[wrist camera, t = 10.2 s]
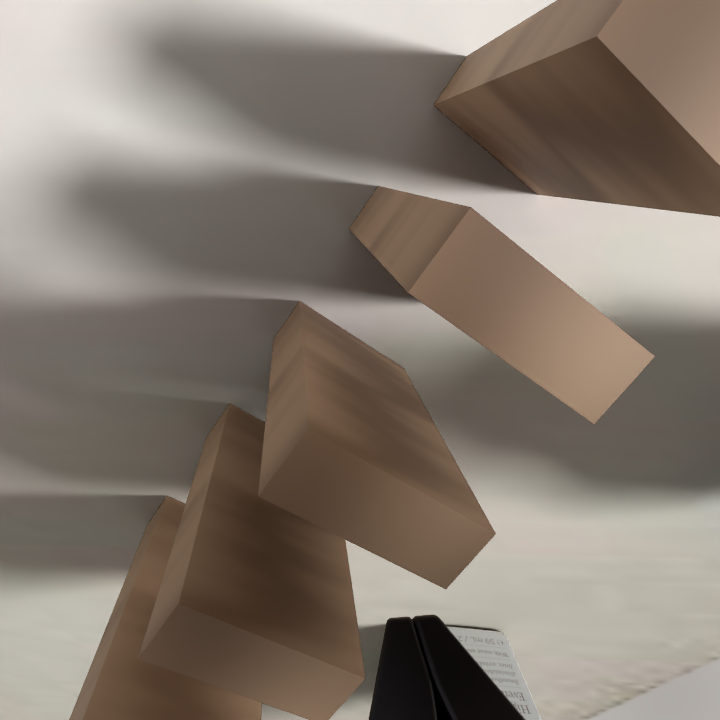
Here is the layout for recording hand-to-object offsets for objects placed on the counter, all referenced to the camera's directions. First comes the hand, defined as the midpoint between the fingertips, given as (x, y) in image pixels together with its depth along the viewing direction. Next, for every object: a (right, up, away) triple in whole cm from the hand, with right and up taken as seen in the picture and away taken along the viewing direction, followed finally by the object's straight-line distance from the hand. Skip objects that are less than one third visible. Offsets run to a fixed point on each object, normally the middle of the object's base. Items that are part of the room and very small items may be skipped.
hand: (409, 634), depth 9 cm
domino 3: (-2, +5, +12) cm, 13 cm away
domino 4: (+4, +13, +9) cm, 16 cm away
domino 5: (+1, +9, +11) cm, 14 cm away
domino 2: (-4, +1, +13) cm, 13 cm away
